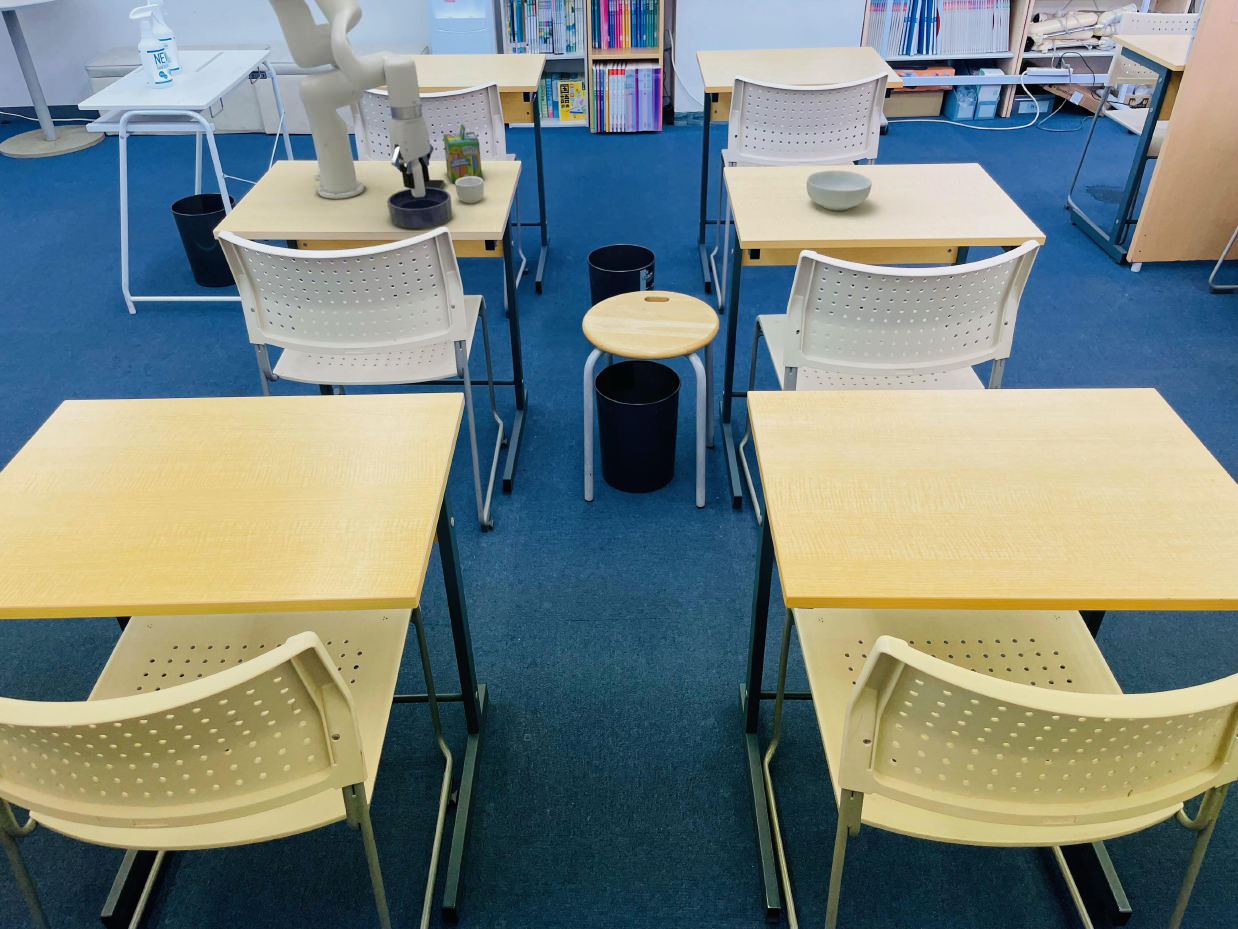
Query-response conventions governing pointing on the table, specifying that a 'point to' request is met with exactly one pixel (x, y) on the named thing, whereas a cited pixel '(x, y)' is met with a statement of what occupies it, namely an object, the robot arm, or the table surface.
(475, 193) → the teacup
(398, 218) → the bowl
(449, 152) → the chalk box
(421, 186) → the eye dropper bottle
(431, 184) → the phone
